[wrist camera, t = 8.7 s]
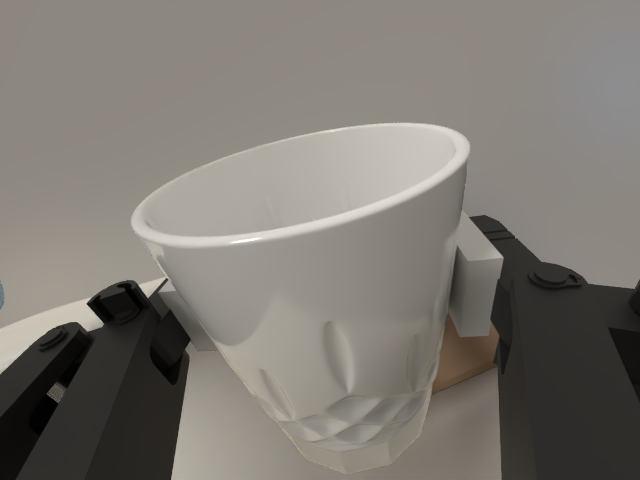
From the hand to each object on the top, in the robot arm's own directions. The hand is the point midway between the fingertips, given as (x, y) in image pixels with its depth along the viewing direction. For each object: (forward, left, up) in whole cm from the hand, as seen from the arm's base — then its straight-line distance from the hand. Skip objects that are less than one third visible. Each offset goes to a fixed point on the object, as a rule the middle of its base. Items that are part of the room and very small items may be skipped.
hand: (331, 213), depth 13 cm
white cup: (+1, -5, -6) cm, 8 cm away
